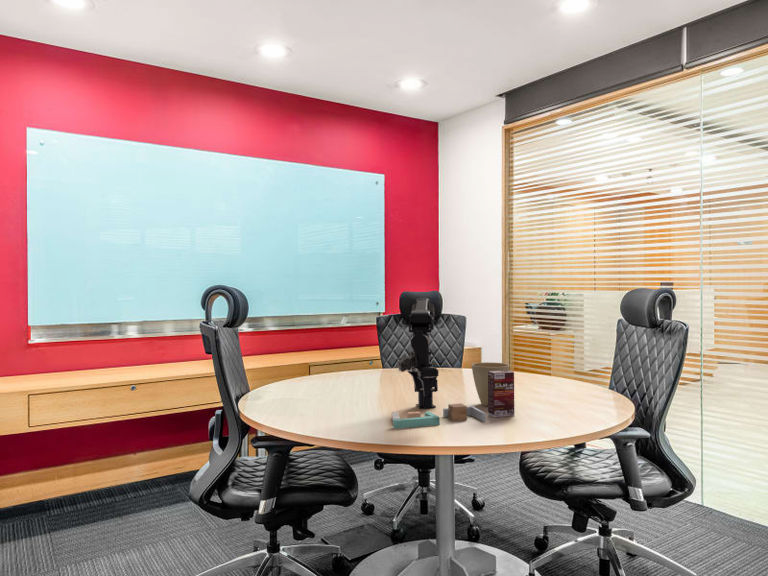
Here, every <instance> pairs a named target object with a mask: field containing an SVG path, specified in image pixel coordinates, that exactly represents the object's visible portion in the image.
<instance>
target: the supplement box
mask: <svg viewBox="0 0 768 576" xmlns="http://www.w3.org/2000/svg"><path fill="white" fill-rule="evenodd" d="M487 414H488V415H489V416H490V417H492V418H499V417H510V416H511V417H512V416H515V371H511V370H509V371H491V372H488V406H487Z"/></svg>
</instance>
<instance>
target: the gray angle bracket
mask: <svg viewBox="0 0 768 576" xmlns="http://www.w3.org/2000/svg"><path fill="white" fill-rule="evenodd" d="M442 412H443V413H442V417H443V418H449V416H448V407H447V408H445V407H444V408H443V409H442ZM468 416H470V417H471V416H472V417H474V418H475V417H476V419H477V420H479V421H481V422H482V421H483V422H486V412H484V411H482V410H481V409H479V408H476V407H475V406H473V405H469V406H467V417H468Z"/></svg>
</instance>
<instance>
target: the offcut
mask: <svg viewBox="0 0 768 576" xmlns="http://www.w3.org/2000/svg"><path fill="white" fill-rule="evenodd" d="M406 413H407V414H406V415H407V416H406V417H407V418H416V417H422V412H420V411H410V412H406Z"/></svg>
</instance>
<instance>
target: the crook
mask: <svg viewBox="0 0 768 576" xmlns="http://www.w3.org/2000/svg"><path fill="white" fill-rule="evenodd" d="M440 418H441V417H440V416H438V415H436V413H433V412H432V411H425V412H424V416H421V417H416V418H400V419H394V420H392V428H393V427H394V428H395V430H398V429H397V428H401V429H408V428H407V427H411V428H419V427H418V426H422V427H429V425H432V426H439V425H441V424H440ZM394 428H393V429H394Z"/></svg>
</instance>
